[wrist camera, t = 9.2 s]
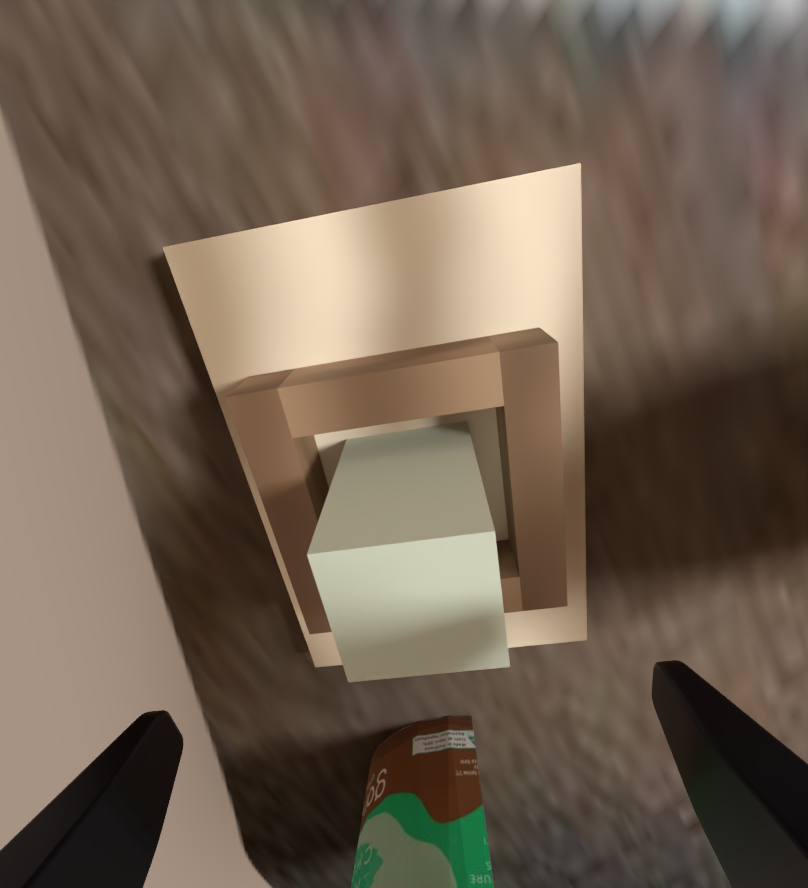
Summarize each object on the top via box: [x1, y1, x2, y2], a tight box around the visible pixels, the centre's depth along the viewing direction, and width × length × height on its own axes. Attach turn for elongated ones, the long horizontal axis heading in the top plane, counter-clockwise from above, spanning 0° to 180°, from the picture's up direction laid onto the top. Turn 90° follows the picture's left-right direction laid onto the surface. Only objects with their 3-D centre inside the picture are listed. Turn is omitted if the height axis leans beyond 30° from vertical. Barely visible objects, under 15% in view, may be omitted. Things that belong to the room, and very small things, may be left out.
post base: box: [163, 163, 587, 667], centre depth 15 cm, size 12×17×3 cm
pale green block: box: [307, 421, 510, 682], centre depth 13 cm, size 4×4×6 cm
